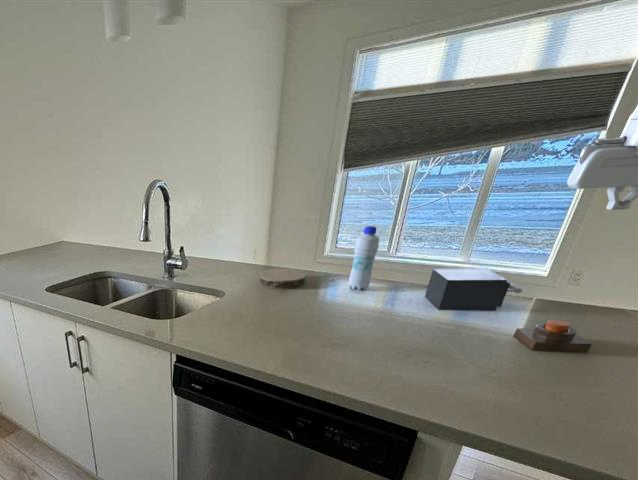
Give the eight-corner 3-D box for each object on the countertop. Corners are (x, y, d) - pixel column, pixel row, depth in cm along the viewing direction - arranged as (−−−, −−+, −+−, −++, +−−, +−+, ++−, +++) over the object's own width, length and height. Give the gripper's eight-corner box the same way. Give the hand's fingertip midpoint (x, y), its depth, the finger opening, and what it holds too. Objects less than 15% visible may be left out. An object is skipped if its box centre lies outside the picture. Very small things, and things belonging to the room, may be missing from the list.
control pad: (564, 338, 95) (572, 322, 93) (587, 353, 88) (596, 336, 86) (512, 336, 98) (519, 321, 96) (531, 351, 91) (538, 334, 89)
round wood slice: (258, 288, 144) (258, 280, 143) (260, 276, 157) (260, 268, 156) (306, 289, 139) (307, 280, 138) (303, 276, 152) (305, 268, 151)
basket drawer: (501, 294, 118) (511, 271, 115) (520, 307, 110) (531, 282, 106) (434, 294, 123) (441, 272, 120) (447, 306, 115) (455, 282, 111)
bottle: (371, 291, 132) (385, 227, 122) (348, 291, 134) (361, 228, 124) (366, 285, 138) (380, 223, 128) (345, 285, 140) (356, 224, 130)
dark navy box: (476, 297, 121) (487, 268, 117) (495, 310, 111) (507, 280, 107) (424, 296, 125) (432, 268, 120) (438, 309, 115) (447, 280, 111)
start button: (560, 327, 92) (563, 319, 91) (570, 333, 89) (574, 326, 88) (540, 326, 93) (544, 319, 92) (550, 332, 90) (553, 325, 89)
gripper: (598, 139, 80) (565, 213, 87) (738, 128, 75) (692, 208, 82) (577, 139, 85) (548, 209, 92) (707, 129, 80) (666, 204, 87)
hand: (616, 209), depth 87 cm, fingers closed
